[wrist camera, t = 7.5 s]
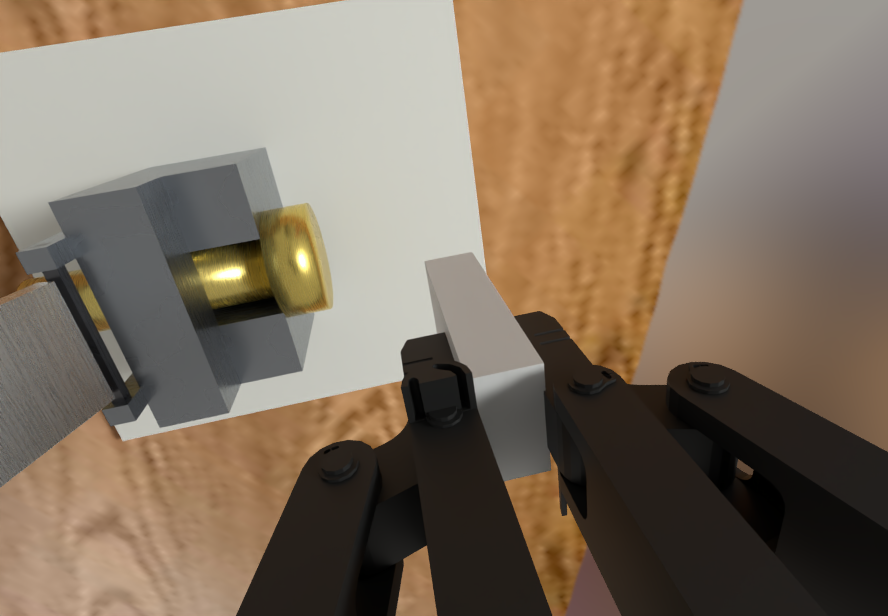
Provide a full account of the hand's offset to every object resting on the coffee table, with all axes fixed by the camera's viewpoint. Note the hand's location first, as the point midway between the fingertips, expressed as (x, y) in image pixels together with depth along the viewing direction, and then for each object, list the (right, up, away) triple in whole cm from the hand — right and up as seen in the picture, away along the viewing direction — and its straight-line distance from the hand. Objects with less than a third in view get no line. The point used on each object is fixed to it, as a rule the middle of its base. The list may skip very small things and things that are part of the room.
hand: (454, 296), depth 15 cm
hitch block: (-12, +3, +13) cm, 18 cm away
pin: (-13, +2, +10) cm, 17 cm away
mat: (-11, +4, +13) cm, 17 cm away
